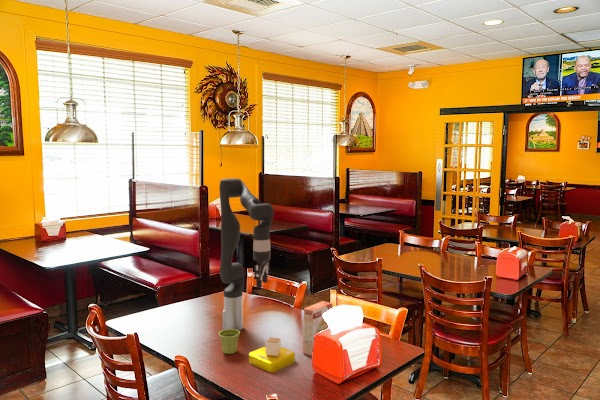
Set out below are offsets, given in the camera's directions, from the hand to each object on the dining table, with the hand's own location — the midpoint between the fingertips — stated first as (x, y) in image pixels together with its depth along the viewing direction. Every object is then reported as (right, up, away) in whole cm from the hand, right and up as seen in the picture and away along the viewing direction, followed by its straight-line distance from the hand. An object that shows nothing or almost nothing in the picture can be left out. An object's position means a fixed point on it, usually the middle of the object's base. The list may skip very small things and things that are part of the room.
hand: (262, 285), depth 214 cm
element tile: (+5, -32, -7) cm, 33 cm away
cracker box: (+25, -30, +4) cm, 39 cm away
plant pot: (-15, -30, +3) cm, 34 cm away
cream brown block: (+5, -27, -9) cm, 29 cm away
